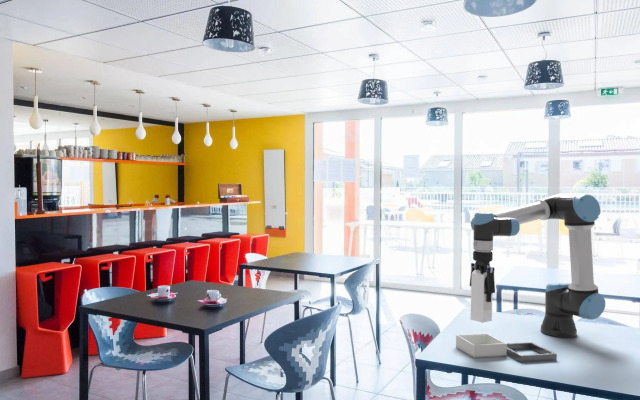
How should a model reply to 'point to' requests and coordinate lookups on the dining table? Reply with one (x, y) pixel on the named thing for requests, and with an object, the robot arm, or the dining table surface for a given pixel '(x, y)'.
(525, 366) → the dining table surface
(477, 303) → the milk
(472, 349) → the bin
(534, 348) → the collar
